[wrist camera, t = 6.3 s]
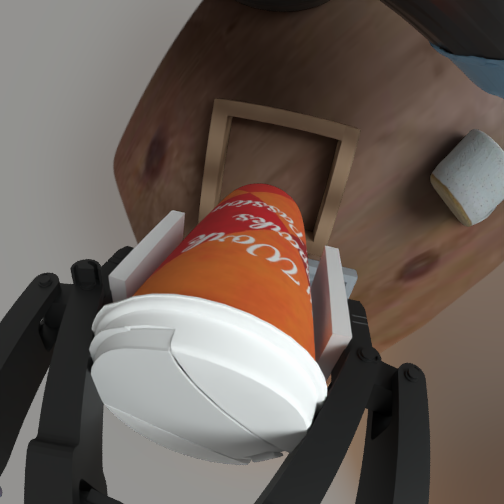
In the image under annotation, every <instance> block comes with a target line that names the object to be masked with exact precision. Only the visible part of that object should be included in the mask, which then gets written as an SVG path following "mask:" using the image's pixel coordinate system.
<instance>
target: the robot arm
mask: <svg viewBox="0 0 504 504" xmlns="http://www.w3.org/2000/svg"><path fill="white" fill-rule="evenodd" d="M236 1H238V2H240V3H242V4H244V5H247V6H250V7H253V8H257V9H262V10H267V11H279V12H286V11H298V10H304V9H309V8H313V7H316V6H319V5H321V4H324V3H326V2H328V1H330V0H236ZM380 1H381V2H383V3H384V4H385V5H387V6H388V7H389V8H391V9H392V10H393V11H394V12H396V13H397V14H398V15H400V16H401V17H402V18H403V19H405V20H406V21H407V22H408V23H409V24H411V25H412V26H413V27H414V28H415V29H416V30H418V31H419V32H420V33H421V34H422V35H423V36H424V37H425V38H427V39H428V41H429V42H430V44H431V46H432V47H433V48H434V49H435V50H436V51H437V52H439V53H440V54H442V55H444V56H445V57H448V58H449V59H450V60H451V61H452V62H453V63H454V64H455V65H456V66H457V67H459V68H460V69H461V70H462V71H463V72H464V74H465V75H466V76H467V77H468V78H469V79H470V80H471V81H472V82H473V83H474V84H476V85H477V86H478V87H479V88H481V89H482V90H484V91H485V92H487V93H489V94H492V95H496V96H499V97H501V98H503V99H504V0H380ZM184 218H185V213H183V212H178V211H174V210H172V211H171V212H170V213H169V214H168V215H167V216H166V217H165V218H164V219H163V220H162V221H161V222H160V223H159V224H158V225H157V226H156V227H155V228H154V229H153V230H152V231H151V232H150V233H149V234H148V235H147V236H146V237H145V238H144V239H143V240H142V241H141V242H140V243H139V244H138V245H137V246H136V247H135V248H132V247H129V246H126V247H124V248H122V249H120V250H118V251H117V252H116V253H115V254H114V255H113V256H112V257H111V258H110V259H109V260H108V262H106V263H105V264H104V265H103V266H102V267H101V265H100V264H99V263H98V262H97V261H95V260H91V259H86V260H80V261H77V262H76V263H74V264H73V265H72V267H71V273H72V279H73V283H74V284H63V283H60V282H59V278H58V276H57V275H56V274H53V273H43V274H40V275H38V276H37V277H36V278H35V279H34V280H33V281H32V282H31V283H30V284H29V286H28V287H27V288H26V290H25V291H24V292H23V293H22V294H21V296H20V297H19V298H18V299H17V301H16V302H15V303H14V305H13V306H12V307H11V309H10V310H9V311H8V313H7V314H6V315H5V317H4V318H3V319H2V321H1V323H0V476H1V474H2V472H3V470H4V469H5V467H6V465H7V462H8V460H9V458H10V455H11V452H12V450H13V447H14V444H15V442H16V439H17V437H18V434H19V431H20V429H21V427H22V424H23V421H24V419H25V417H26V415H27V412H28V410H29V408H30V406H31V403H32V401H33V399H34V397H35V395H36V392H37V390H38V388H39V386H40V384H41V382H42V380H43V378H44V376H45V374H46V372H47V370H48V368H49V372H48V376H47V382H46V386H45V392H44V396H43V402H42V408H41V414H40V421H39V428H38V435H37V437H36V438H35V439H32V440H31V441H30V442H29V444H28V449H27V455H26V467H25V487H24V490H25V491H24V504H123V503H121V502H120V501H117V500H115V499H113V498H110V497H108V496H107V485H106V480H105V477H104V474H103V467H102V429H103V405H104V403H103V402H102V400H101V398H100V396H99V393H98V391H97V388H96V386H95V383H94V381H93V378H92V376H91V368H92V366H93V364H94V363H93V360H92V357H91V354H90V351H89V348H90V345H91V342H92V340H93V338H94V332H93V330H92V324H93V322H94V319H95V317H96V315H97V314H98V312H99V311H100V310H101V309H102V308H103V306H104V305H107V304H111V303H114V302H118V301H121V300H124V299H127V298H130V297H132V296H133V295H134V294H135V292H136V291H137V290H138V289H139V288H140V287H141V286H142V285H143V283H144V282H145V281H146V280H147V279H148V278H149V277H150V276H151V275H152V273H153V272H154V271H155V270H156V269H157V268H158V267H159V266H160V265H161V264H162V262H163V261H164V260H165V259H166V258H167V257H168V256H169V255H170V254H171V253H172V252H173V250H174V249H175V248H176V247H177V246H178V245H179V244H180V243H181V242H182V241H183V231H184ZM311 300H312V314H313V328H314V344H315V361H316V362H317V364H318V365H319V367H320V369H321V371H322V373H323V375H324V377H325V381H327V379H328V378H329V376H330V374H331V383H330V385H329V386H328V388H327V399H326V400H325V403H324V404H323V406H322V407H321V409H320V410H319V411H318V413H317V414H316V415H315V417H314V420H313V424H312V426H311V428H310V430H309V431H308V432H307V434H306V435H305V437H304V438H303V439H302V440H301V441H300V443H299V444H298V445H297V446H296V447H295V448H294V450H293V451H292V452H291V453H289V454H288V456H287V458H286V459H285V461H284V462H283V464H282V465H281V467H280V468H279V470H278V471H277V473H276V474H275V476H274V477H273V478H272V480H271V481H270V483H269V484H268V485H267V487H266V488H265V490H264V491H263V492H262V494H261V495H260V496H259V498H258V499H257V500H256V502H255V503H254V504H320V503H321V501H322V499H323V498H324V496H325V494H326V492H327V490H328V488H329V486H330V485H331V483H332V481H333V479H334V477H335V475H336V473H337V471H338V469H339V467H340V465H341V463H342V461H343V459H344V457H345V455H346V452H347V450H348V448H349V446H350V444H351V441H352V439H353V437H354V434H355V432H356V430H357V427H358V425H359V422H360V420H361V418H362V415H363V413H364V410H365V408H367V409H368V418H367V429H366V438H365V446H364V455H363V461H362V468H361V474H360V480H359V486H358V492H357V497H356V502H355V504H428V502H429V485H430V429H429V413H428V412H429V411H428V399H427V389H426V379H425V375H424V373H423V372H422V370H421V369H420V368H419V367H417V366H416V365H413V364H411V363H404V364H402V365H401V366H400V367H399V368H398V369H397V368H395V367H393V366H390V365H388V364H386V363H384V362H382V361H381V357H380V354H379V353H378V351H377V350H376V349H375V348H373V347H372V343H371V338H370V332H369V327H368V322H367V319H366V312H365V309H364V307H363V306H362V304H361V303H360V301H355V300H350V299H347V296H346V290H345V284H344V277H343V272H342V266H341V260H340V255H339V249H337V248H333V247H329V246H325V247H324V250H323V253H322V256H321V259H320V262H319V265H318V268H317V271H316V274H315V276H314V279H313V282H312V285H311ZM42 318H43V319H42ZM41 320H42V321H41ZM40 321H41V322H40ZM49 366H50V367H49ZM1 496H2V489H1V487H0V497H1Z"/></svg>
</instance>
